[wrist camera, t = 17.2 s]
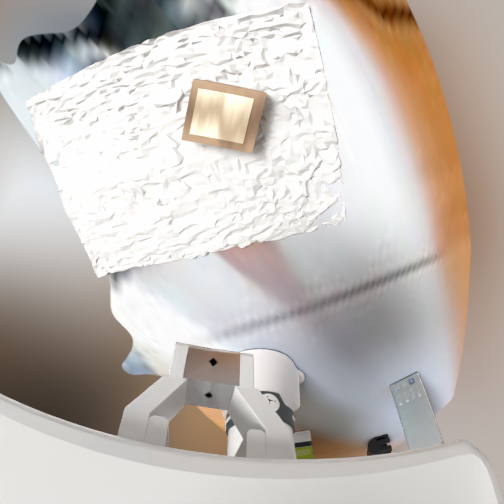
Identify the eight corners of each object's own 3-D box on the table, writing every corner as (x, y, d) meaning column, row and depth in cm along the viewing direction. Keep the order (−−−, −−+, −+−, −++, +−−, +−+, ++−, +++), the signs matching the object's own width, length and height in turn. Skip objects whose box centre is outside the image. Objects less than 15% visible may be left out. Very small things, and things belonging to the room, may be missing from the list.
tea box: (311, 448, 83) (316, 490, 70) (278, 452, 83) (281, 494, 71) (310, 428, 75) (316, 477, 62) (273, 433, 76) (275, 481, 63)
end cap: (366, 438, 82) (370, 457, 76) (387, 433, 81) (392, 450, 75) (364, 449, 87) (368, 466, 81) (384, 444, 86) (389, 460, 80)
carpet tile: (306, 4, 29) (309, 0, 27) (346, 221, 45) (349, 228, 43) (30, 100, 33) (22, 102, 32) (101, 273, 49) (96, 280, 47)
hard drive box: (388, 385, 65) (410, 457, 48) (417, 370, 63) (444, 441, 46) (402, 407, 72) (421, 469, 55) (427, 394, 70) (449, 455, 53)
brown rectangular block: (252, 153, 34) (181, 140, 33) (251, 147, 37) (186, 135, 36) (267, 93, 31) (192, 79, 30) (265, 92, 33) (197, 79, 32)
